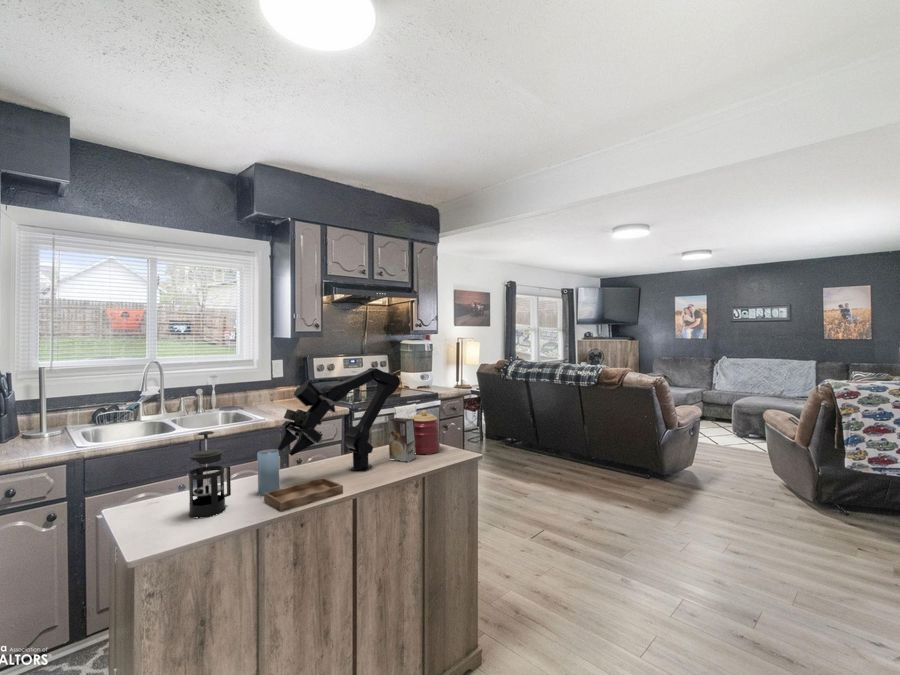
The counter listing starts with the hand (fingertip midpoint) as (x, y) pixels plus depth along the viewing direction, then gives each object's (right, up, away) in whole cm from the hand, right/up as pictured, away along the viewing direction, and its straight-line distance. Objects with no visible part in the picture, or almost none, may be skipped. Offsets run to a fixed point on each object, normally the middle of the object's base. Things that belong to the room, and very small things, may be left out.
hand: (284, 452), depth 148 cm
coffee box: (+36, -11, +32) cm, 49 cm away
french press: (-15, -12, -19) cm, 27 cm away
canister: (+44, -11, +43) cm, 63 cm away
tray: (+10, -12, -9) cm, 18 cm away
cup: (-4, -12, -4) cm, 13 cm away
